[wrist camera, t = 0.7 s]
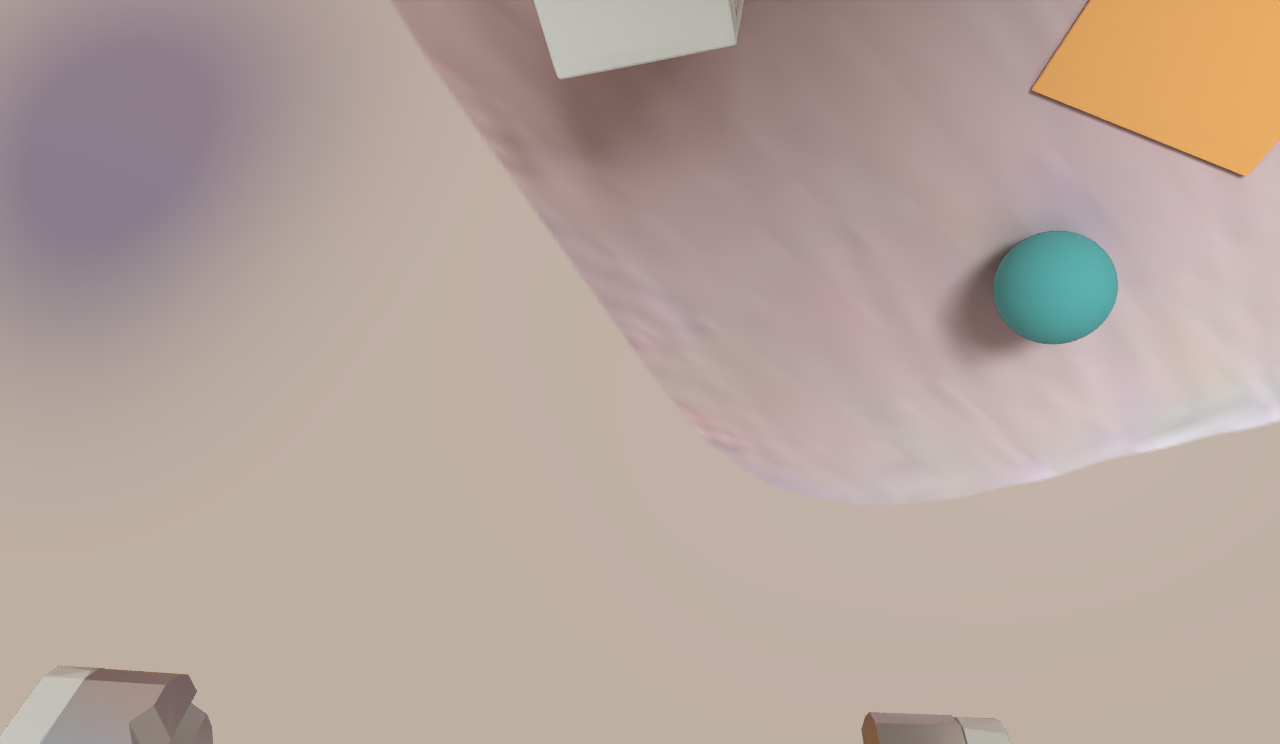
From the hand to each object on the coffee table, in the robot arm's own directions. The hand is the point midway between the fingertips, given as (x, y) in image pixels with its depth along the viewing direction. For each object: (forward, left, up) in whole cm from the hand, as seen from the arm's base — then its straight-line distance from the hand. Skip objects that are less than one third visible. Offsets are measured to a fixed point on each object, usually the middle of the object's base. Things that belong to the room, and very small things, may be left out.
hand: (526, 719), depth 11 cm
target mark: (-4, +22, -40) cm, 45 cm away
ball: (+10, +22, -37) cm, 44 cm away
